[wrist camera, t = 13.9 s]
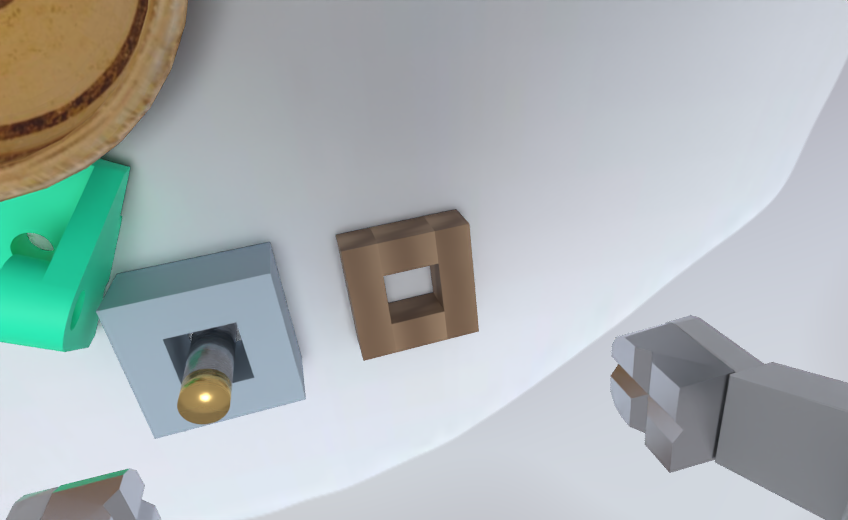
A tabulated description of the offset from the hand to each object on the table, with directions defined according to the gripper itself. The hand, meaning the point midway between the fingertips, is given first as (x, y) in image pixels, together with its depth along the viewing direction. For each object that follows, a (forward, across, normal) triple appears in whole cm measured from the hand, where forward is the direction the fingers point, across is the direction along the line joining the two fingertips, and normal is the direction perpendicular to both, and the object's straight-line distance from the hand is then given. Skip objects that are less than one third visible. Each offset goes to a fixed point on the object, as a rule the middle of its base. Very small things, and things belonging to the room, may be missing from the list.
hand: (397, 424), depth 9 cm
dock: (+29, +9, +13) cm, 33 cm away
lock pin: (+29, +9, +13) cm, 33 cm away
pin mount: (+29, -5, +13) cm, 32 cm away
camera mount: (+30, +17, +4) cm, 34 cm away
